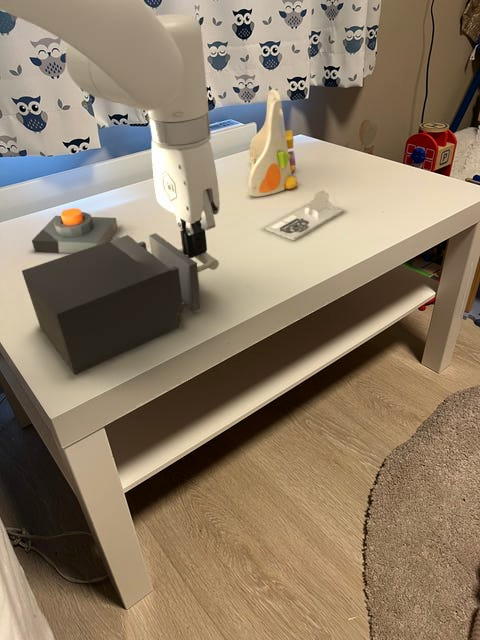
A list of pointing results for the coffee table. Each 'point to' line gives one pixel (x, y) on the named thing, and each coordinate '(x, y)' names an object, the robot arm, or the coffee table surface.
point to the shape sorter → (272, 153)
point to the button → (72, 216)
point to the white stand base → (305, 218)
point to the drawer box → (102, 301)
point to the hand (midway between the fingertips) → (195, 252)
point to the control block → (74, 234)
